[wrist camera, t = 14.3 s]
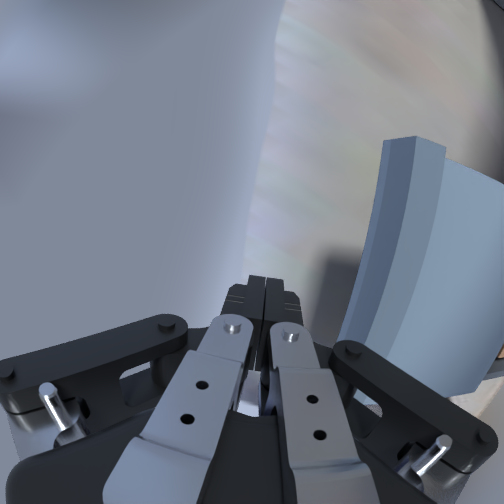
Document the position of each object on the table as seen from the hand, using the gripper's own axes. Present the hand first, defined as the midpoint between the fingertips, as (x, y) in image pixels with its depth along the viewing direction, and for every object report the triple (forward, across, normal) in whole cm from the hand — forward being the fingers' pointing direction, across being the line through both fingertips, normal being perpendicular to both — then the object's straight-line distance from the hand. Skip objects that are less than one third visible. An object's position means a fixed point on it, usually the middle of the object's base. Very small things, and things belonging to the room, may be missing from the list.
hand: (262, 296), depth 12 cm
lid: (+2, -12, 0) cm, 12 cm away
